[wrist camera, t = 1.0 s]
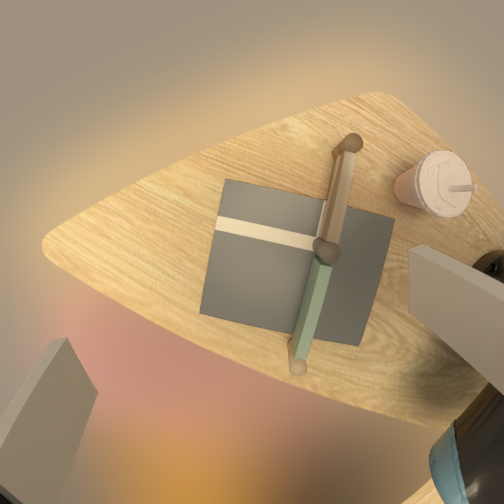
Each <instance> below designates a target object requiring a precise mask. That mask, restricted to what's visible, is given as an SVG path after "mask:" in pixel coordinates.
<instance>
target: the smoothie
mask: <svg viewBox="0 0 504 504" xmlns="http://www.w3.org/2000/svg"><path fill="white" fill-rule="evenodd" d="M477 190H478V185H477V184H472V180H471V176H470V173H469V170H468V168H467V166H466V165H465V163H464V162H463V161H462V159H461V158H460V157H458V156H457V155H456V154H454V153H452V152H450V151H446V150H439V151H433V152H430V153H428V154H427V155H425V156H424V157H423V158H422V159H421V161H420V162H419V163H418V164H417V165H415V166H414V167H412V168H410V169H409V170H407V171H406V172H404V173H403V174H401V175H399V176H398V177H397V178H396V180H395V182H394V193H395V195H396V197H397V199H398V200H399V201H400V202H402V203H404V204H408V205H411V206H414V207H417V208H421V209H424V210H427V211H428V212H429V213H431V214H432V215H433V216H436V217H439V218H453V217H456V216H458V215H460V214H461V213H463V212H464V211H465V209H466V208H467V206H468V204H469V202H470V199H471V195H472V191H477Z"/></svg>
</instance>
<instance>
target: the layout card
mask: <svg viewBox="0 0 504 504" xmlns="http://www.w3.org/2000/svg"><path fill="white" fill-rule="evenodd" d="M325 205H326V201H325V200H320V199H316V198H312V197H308V196H303V195H299V194H295V193H290V192H286V191H281V190H277V189H272V188H268V187H263V186H258V185H253V184H248V183H243V182H238V181H233V180H228V179H225V184H224V188H223V193H222V198H221V202H220V207H219V212H218V216H217V221H216V226H215V232H214V237H213V242H212V247H211V252H210V258H209V263H208V268H207V274H206V279H205V284H204V290H203V296H202V301H201V307H200V314H204V315H208V316H212V317H216V318H220V319H225V320H229V321H233V322H237V323H242V324H246V325H251V326H255V327H260V328H264V329H269V330H274V331H278V332H283V333H288V334H294V330H295V327H296V323H297V319H298V316H299V312H300V308H301V305H302V301H303V297H304V293H305V289H306V285H307V281H308V278H309V274H310V270H311V265H312V261H313V257H319V256H318V255H317V254H316V253H315V252H314V250H313V248H312V244H313V241H314V240H315V239H316V238H318V237H319V232H320V227H321V223H322V219H323V214H324V209H325ZM394 220H395V219H392V218H389V217H385V216H382V215H378V214H374V213H371V212H367V211H363V210H360V209H356V208H352V207H348V206H347V207H346V212H345V217H344V221H343V225H342V230H341V234H340V238H339V243H338V244H337V243H335V244H337V245H338V246H339V248H340V250H341V257H340V259H339V260H338V261H337V262H336V263H334V264H330V265H331V266H332V271H331V275H330V279H329V282H328V286H327V290H326V294H325V297H324V301H323V305H322V308H321V312H320V315H319V319H318V322H317V325H316V329H315V332H314V335H313V338H314V339H320V340H325V341H331V342H337V343H342V344H348V345H355V346H359V344H360V341H361V339H362V336H363V333H364V330H365V327H366V324H367V321H368V317H369V314H370V311H371V308H372V305H373V301H374V298H375V295H376V291H377V288H378V284H379V281H380V277H381V273H382V270H383V266H384V262H385V258H386V254H387V250H388V246H389V242H390V238H391V233H392V229H393V224H394ZM319 258H320V257H319Z"/></svg>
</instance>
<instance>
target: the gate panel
mask: <svg viewBox="0 0 504 504" xmlns="http://www.w3.org/2000/svg"><path fill="white" fill-rule="evenodd" d="M331 271H332V266H331V265H330V264H327V263H325V262H324V261H323V260H322V259H321V258H319V257H313V261H312V265H311V270H310V274H309V278H308V281H307V285H306V289H305V293H304V297H303V301H302V305H301V308H300V312H299V316H298V319H297V323H296V327H295V330H294V334H293V337H292V339H291V340H290V341H289V342H288V357H289V369H290V373H291V374H292V375H293V376H302V375H304V374H305V373H306V371H307V365H306V358H307V355H308V352H309V348H310V345H311V342H312V339H313V335H314V332H315V329H316V325H317V322H318V319H319V315H320V312H321V308H322V305H323V301H324V297H325V294H326V290H327V286H328V282H329V279H330V275H331Z"/></svg>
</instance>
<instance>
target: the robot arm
mask: <svg viewBox="0 0 504 504" xmlns="http://www.w3.org/2000/svg"><path fill="white" fill-rule="evenodd" d="M408 263H409V312H410V313H411V314H412V315H413V316H414V317H416V318H417V319H418V320H419V321H420V322H422V323H423V324H424V325H425V326H426V327H427V328H429V329H430V330H431V331H432V332H433V333H435V334H436V335H437V336H438V337H439V338H440V339H442V340H443V341H444V342H445V343H446V344H447V345H448V346H450V347H451V348H452V349H453V350H454V351H455V352H457V353H458V354H459V355H460V356H461V357H462V358H463V359H464V360H466V361H467V362H468V363H469V364H470V365H471V366H472V367H473V368H475V369H476V370H477V371H478V372H479V373H480V374H481V375H482V376H483V377H484V378H486V379H487V380H488V381H489V383H488V384H487V385H486V386H485V388H484V389H483V390H482V391H481V393H480V394H479V395H478V396H477V397H476V398H475V400H474V401H473V402H472V403H471V404H470V405H469V406H468V408H467V409H466V410H465V411H464V412H463V413H462V414H461V415H460V416H459V417H458V418H457V420H454V421H453V422H452V423H451V426H450V427H449V428H448V429H447V431H446V432H445V433H444V434H443V435H442V436H441V437H440V438H439V439H438V440H437V441H436V442H435V443H434V445H433V446H432V448H431V451H430V454H429V467H430V471H431V476H432V479H433V482H434V484H435V487H436V489H437V491H438V493H439V495H440V497H441V498H442V500H443V502H444V503H445V504H504V251H493V252H491V253H488V254H486V255H485V256H483V257H482V258H481V259H480V260H479V261H478V262H477V263H476V264H475V265H474V266H473V267H470V266H468V265H466V264H464V263H462V262H460V261H458V260H456V259H454V258H452V257H450V256H448V255H445V254H443V253H441V252H439V251H437V250H435V249H433V248H430V247H428V246H426V245H424V244H422V245H419V246H416V247H413V248H410V249H408ZM97 394H98V391H97V390H96V388H95V387H94V385H93V383H92V381H91V380H90V378H89V377H88V375H87V373H86V371H85V370H84V368H83V366H82V364H81V362H80V361H79V359H78V357H77V355H76V353H75V352H74V350H73V348H72V346H71V344H70V342H69V340H68V338H61V339H56V340H52V342H51V343H50V345H49V346H48V347H47V349H46V350H45V351H44V353H43V354H42V356H41V357H40V359H39V360H38V361H37V363H36V364H35V365H34V367H33V368H32V370H31V371H30V373H29V374H28V376H27V377H26V379H25V380H24V382H23V383H22V385H21V386H20V388H19V389H18V391H17V392H16V394H15V396H14V397H13V399H12V400H11V402H10V404H9V405H8V407H7V408H6V410H5V411H4V413H3V415H2V416H1V418H0V504H62V500H63V497H64V493H65V490H66V486H67V483H68V479H69V476H70V473H71V469H72V466H73V462H74V460H75V456H76V453H77V450H78V447H79V444H80V441H81V439H82V436H83V433H84V430H85V427H86V424H87V421H88V419H89V416H90V413H91V410H92V408H93V405H94V402H95V399H96V397H97Z"/></svg>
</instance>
